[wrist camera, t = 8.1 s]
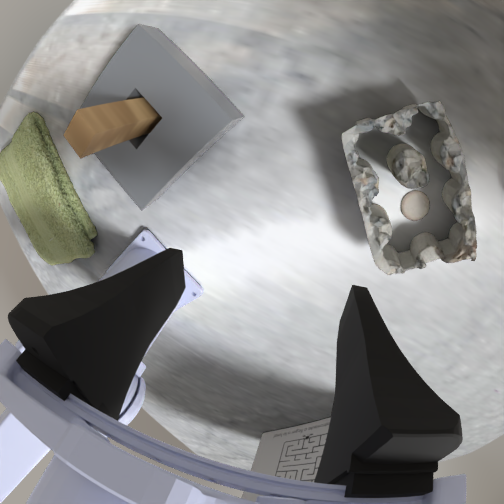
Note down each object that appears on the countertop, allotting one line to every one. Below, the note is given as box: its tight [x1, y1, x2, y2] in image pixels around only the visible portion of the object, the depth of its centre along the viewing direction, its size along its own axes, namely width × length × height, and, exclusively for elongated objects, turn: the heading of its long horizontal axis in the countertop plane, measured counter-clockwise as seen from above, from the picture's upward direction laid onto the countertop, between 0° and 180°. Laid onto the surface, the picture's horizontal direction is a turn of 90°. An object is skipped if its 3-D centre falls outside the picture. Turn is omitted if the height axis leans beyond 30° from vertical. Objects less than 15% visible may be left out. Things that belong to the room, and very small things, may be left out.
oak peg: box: [64, 97, 162, 159], centre depth 16 cm, size 2×2×8 cm
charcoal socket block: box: [80, 24, 244, 211], centre depth 18 cm, size 10×10×2 cm
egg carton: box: [342, 100, 477, 275], centre depth 16 cm, size 11×8×4 cm
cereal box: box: [242, 417, 331, 502], centre depth 26 cm, size 22×8×25 cm, turn 138°
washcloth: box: [0, 112, 98, 265], centre depth 26 cm, size 13×18×3 cm
